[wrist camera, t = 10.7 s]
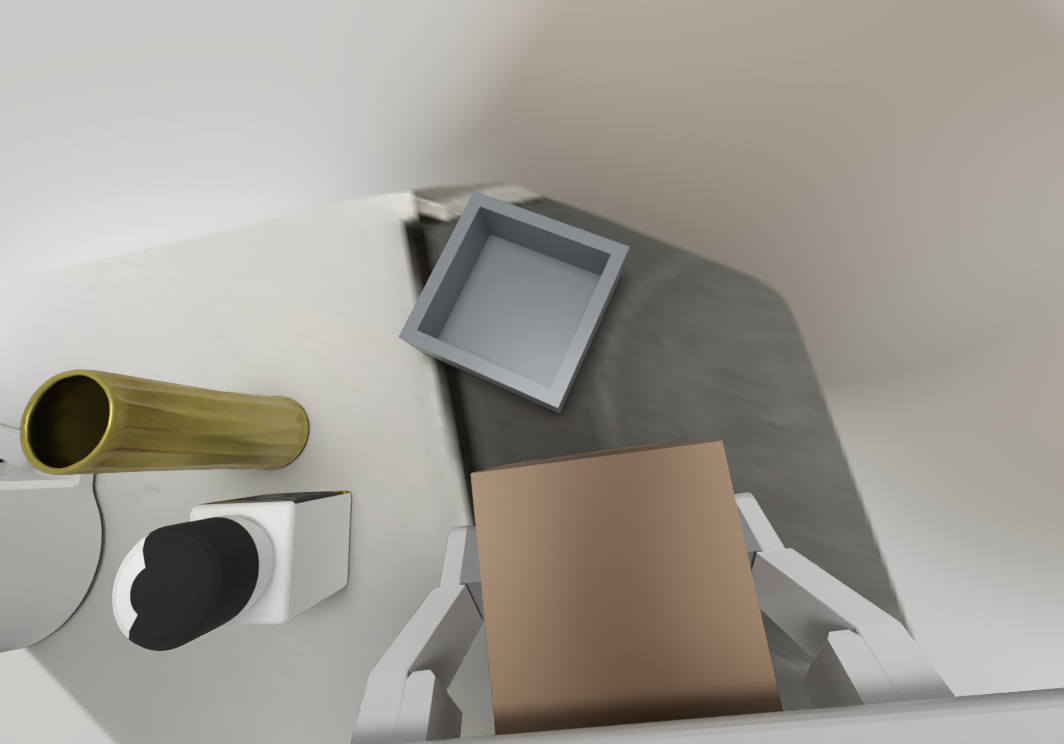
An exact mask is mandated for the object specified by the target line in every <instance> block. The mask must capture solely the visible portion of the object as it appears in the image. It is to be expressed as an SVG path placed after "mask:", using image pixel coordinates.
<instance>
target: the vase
mask: <svg viewBox="0 0 1064 744" xmlns="http://www.w3.org/2000/svg"><path fill="white" fill-rule="evenodd" d="M307 435H308V421H307V417H306V414H305V412H304V410H303V409H302V408H301V406H300V405H299V404H297V403H296V402H295V401H293V400H292V399H290V398H287V397H283V396H261V395H252V394H243V393H233V392H222V391H216V390H210V389H204V388H198V387H191V386H185V385H179V384H174V383H168V382H162V381H156V380H150V379H144V378H138V377H133V376H127V375H121V374H115V373H108V372H102V371H95V370H72V371H67V372H64V373H60V374H58V375H55V376H54V377H52V378H50V379H49V380H48V381H46V382H45V383H44V384H43V385H42V386H41V387H39V388H38V390H37V391H36V392H35V393H34V394H33V396H32V397H31V399H30V401H29V402H28V404H27V406H26V408H25V410H24V413H23V416H22V420H21V426H20V444H21V448H22V451H23V453H24V455H25V457H26V459H27V461H28V462H29V463H30V464H31V465H32V466H33V467H34V468H36V469H37V470H39V471H41V472H44V473H47V474H52V475H76V474H97V473H117V472H137V471H171V470H207V469H265V470H273V469H277V468H281V467H283V466H285V465H287V464H289V463H290V462H292V461H293V460H294V459H295V458H296V457H297V456H298V455H299V453H300V452H301V451H302V449H303V447H304V445H305V443H306V439H307Z"/></svg>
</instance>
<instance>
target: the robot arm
mask: <svg viewBox="0 0 1064 744" xmlns="http://www.w3.org/2000/svg"><path fill="white" fill-rule="evenodd" d="M93 475H94V474H76V475H52V474H47V473H44V472H41V471H39V470H37V469H36V468H34V467H33V466H32V465H31V464H30V463H29V462H28V461H27V459H26V457H25V455H24V453H23V451H22V448H21V444H20V430H18V429H14V428H11V427H8V426H4V425H1V424H0V652H5V651H9V650H15V649H20V648H24V647H27V646H30V645H32V644H34V643H37V642H39V641H41V640H42V639H44V638H46V637H47V636H49V635H50V634H52V633H53V632H54V631H55V630H57V629H58V628H59V627H60V626H61V625H62V624H63V623H64V622H65V621H66V620H67V619H68V618H69V617H70V616H71V615H72V613H73V612H74V611H75V610H76V608H77V607H78V605H79V604H80V603H81V601H82V599H83V598H84V596H85V594H86V592H87V590H88V588H89V586H90V584H91V582H92V579H93V577H94V574H95V571H96V568H97V565H98V561H99V556H100V550H101V540H102V530H101V520H100V514H99V510H98V507H97V504H96V500H95V497H94V493H93V487H92V486H93ZM734 496H735V500H736V505H737V509H738V514H739V518H740V522H741V527H742V531H743V536H744V540H745V545H746V549H747V554H748V558H749V563H750V567H751V572H752V576H753V581H754V585H755V590H756V594H757V599H758V603H759V607H760V609H761V610H762V611H763V612H765V613H766V614H767V615H768V616H769V617H770V618H771V619H772V620H773V621H774V622H775V623H776V624H777V625H778V626H779V627H780V628H781V629H782V630H783V631H784V632H785V633H786V634H788V635H789V636H790V637H791V638H792V639H793V640H794V641H795V642H796V643H797V644H798V645H799V646H800V647H801V648H802V649H803V650H804V651H805V652H806V653H807V654H808V655H810V656H811V657H812V658H813V659H814V661H813V663H812V665H811V666H810V668H809V670H808V672H807V674H806V676H805V678H804V680H803V682H802V684H803V686H804V688H805V690H806V692H807V694H808V696H809V699H810V701H811V703H812V705H813V707H814V709H804V710H792V711H780V712H768V713H756V714H744V715H732V716H720V717H708V718H696V719H684V720H672V721H660V722H648V723H636V724H624V725H612V726H600V727H588V728H576V729H564V730H553V731H541V732H529V733H517V734H505V735H493V736H481V737H469V738H460V734H461V722H462V712H461V711H460V709H459V708H458V706H457V705H456V704H455V702H454V701H453V700H452V698H451V697H450V695H449V694H448V693H447V691H446V690H447V688H448V687H449V685H450V683H451V681H452V679H453V677H454V675H455V673H456V672H457V670H458V668H459V666H460V664H461V662H462V660H463V658H464V657H465V655H466V653H467V651H468V649H469V647H470V645H471V643H472V642H473V640H474V638H475V636H476V634H477V632H478V630H479V628H480V626H481V625H482V623H483V619H485V618H484V607H483V597H482V586H481V576H480V565H479V555H478V544H477V534H476V525H474V526H463V527H455V528H451V530H450V532H449V534H448V540H447V546H446V551H445V557H444V563H443V569H442V575H441V580H440V586H439V587H435V588H434V589H433V590H432V591H431V593H430V594H429V595H428V597H427V598H426V599H425V601H424V602H423V603H422V605H421V606H420V607H419V609H418V610H417V611H416V613H415V614H414V615H413V617H412V618H411V619H410V621H409V622H408V623H407V624H406V626H405V627H404V628H403V630H402V631H401V632H400V634H399V635H398V636H397V638H396V639H395V640H394V642H393V643H392V644H391V646H390V647H389V648H388V650H387V651H386V652H385V654H384V655H383V656H382V658H381V659H380V660H379V662H378V663H377V664H376V666H375V667H374V668H373V670H372V671H371V672H370V674H369V678H368V681H367V685H366V689H365V692H364V696H363V700H362V704H361V707H360V711H359V715H358V718H357V722H356V726H355V729H354V733H353V737H352V740H351V744H1064V688H1055V689H1045V690H1044V689H1043V690H1032V691H1019V692H1008V693H995V694H985V695H972V696H959V697H955V696H954V694H953V693H952V692H951V690H950V689H949V687H948V686H947V685H946V683H945V682H944V681H943V680H942V678H941V677H940V675H939V674H938V673H937V671H936V670H935V669H934V667H933V666H932V664H931V663H930V662H929V660H928V659H927V658H926V656H925V655H924V654H923V652H922V651H921V650H920V648H919V647H918V646H917V644H916V643H915V641H914V640H913V639H912V637H911V636H910V635H909V633H908V632H907V631H906V629H905V628H904V627H903V625H902V624H901V623H900V622H898V621H897V620H895V619H894V618H893V617H891V616H890V615H888V614H887V613H885V612H884V611H882V610H881V609H879V608H878V607H877V606H875V605H874V604H872V603H871V602H869V601H868V600H866V599H865V598H863V597H862V596H860V595H859V594H858V593H856V592H855V591H853V590H852V589H850V588H849V587H847V586H846V585H844V584H843V583H841V582H840V581H839V580H837V579H836V578H834V577H833V576H831V575H830V574H828V573H827V572H825V571H824V570H823V569H821V568H820V567H818V566H817V565H815V564H814V563H812V562H811V561H809V560H808V559H806V558H805V557H804V556H802V555H801V554H799V553H798V552H796V551H795V550H793V549H792V548H788V549H785V547H784V546H783V544H782V542H781V541H780V539H779V537H778V536H777V534H776V533H775V531H774V529H773V528H772V526H771V524H770V523H769V521H768V519H767V518H766V516H765V514H764V513H763V511H762V510H761V508H760V506H759V505H758V503H757V501H756V500H755V498H754V496H753V495H752V494H750V493H749V492H745V493H738V494H734Z"/></svg>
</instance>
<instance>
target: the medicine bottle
mask: <svg viewBox="0 0 1064 744" xmlns="http://www.w3.org/2000/svg"><path fill="white" fill-rule="evenodd" d="M350 506H351V493H350V492H349V491H327V492H302V493H277V494H266V495H259V496H253V497H246V498H239V499H233V500H226V501H219V502H213V503H206V504H199V505H196V506H194V507H193V508H192V509H191V513H190V522H186V523H180V524H175V525H170V526H165V527H162V528H159V529H156V530H154V531H153V532H151V533H149V534H148V535H146V536H145V537H143V538H142V539H141V540H140V541H139V542H138V543H137V544H136V545H135V546H134V547H133V548H132V549H131V551H130V552H129V553H128V554H127V556H126V557H125V559H124V560H123V562H122V564H121V566H120V567H119V570H118V572H117V575H116V578H115V581H114V586H113V592H112V606H113V612H114V616H115V619H116V622H117V624H118V626H119V628H120V630H121V631H122V633H123V634H124V635H125V636H126V637H127V638H128V639H129V640H130V641H132V642H133V643H135V644H137V645H139V646H141V647H143V648H146V649H150V650H155V651H164V650H170V649H174V648H177V647H179V646H182V645H184V644H186V643H188V642H190V641H192V640H194V639H196V638H198V637H200V636H202V635H204V634H206V633H208V632H210V631H212V630H214V629H216V628H218V627H220V626H221V625H276V624H284V623H286V622H288V621H289V620H291V619H293V618H294V617H296V616H297V615H299V614H301V613H302V612H304V611H306V610H307V609H309V608H311V607H312V606H314V605H315V604H317V603H319V602H320V601H322V600H324V599H325V598H327V597H329V596H330V595H332V594H334V593H335V592H337V591H338V590H340V589H342V588H343V587H345V586H346V584H347V580H348V555H349V531H350Z"/></svg>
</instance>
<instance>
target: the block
mask: <svg viewBox="0 0 1064 744" xmlns="http://www.w3.org/2000/svg"><path fill="white" fill-rule="evenodd" d="M471 481H472V492H473V502H474V513H475V523H476V534H477V544H478V555H479V565H480V576H481V586H482V597H483V607H484V618H485V628H486V639H487V649H488V660H489V670H490V681H491V691H492V702H493V712H494V723H495V733H496V735H505V734H517V733H529V732H541V731H553V730H564V729H576V728H588V727H600V726H612V725H624V724H636V723H648V722H660V721H672V720H684V719H696V718H708V717H720V716H732V715H744V714H756V713H768V712H780V711H783V710H782V706H781V701H780V697H779V692H778V688H777V684H776V679H775V675H774V670H773V666H772V661H771V657H770V652H769V648H768V643H767V639H766V634H765V630H764V625H763V621H762V616H761V612H760V607H759V603H758V599H757V594H756V590H755V585H754V581H753V576H752V572H751V567H750V563H749V558H748V554H747V549H746V545H745V540H744V536H743V531H742V527H741V522H740V518H739V514H738V509H737V505H736V500H735V496H734V491H733V487H732V482H731V478H730V473H729V469H728V464H727V460H726V455H725V451H724V446H723V442H722V441H707V442H687V443H668V444H649V445H639V446H632V447H624V448H616V449H609V450H601V451H593V452H586V453H578V454H571V455H563V456H555V457H548V458H540V459H532V460H525V461H519V462H515V463H511V464H507V465H503V466H499V467H494V468H490V469H486V470H482V471H478V472H474V473H471Z"/></svg>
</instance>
